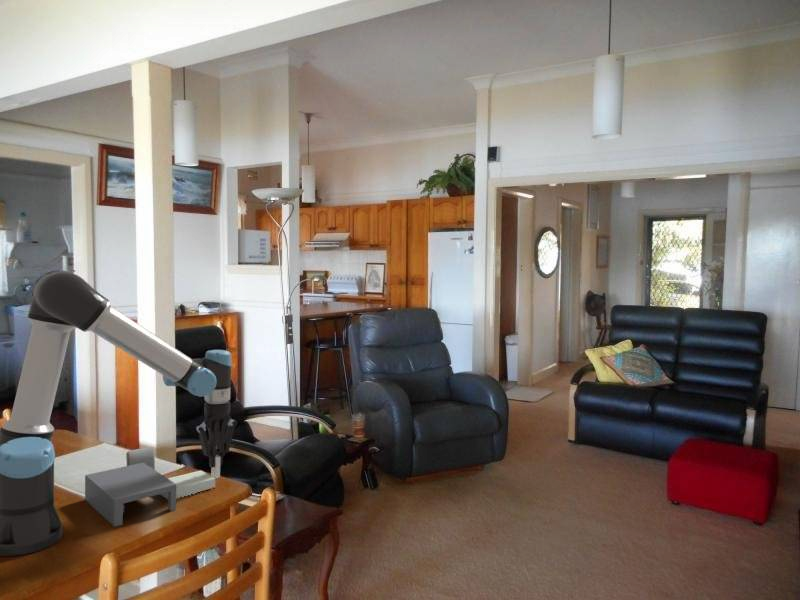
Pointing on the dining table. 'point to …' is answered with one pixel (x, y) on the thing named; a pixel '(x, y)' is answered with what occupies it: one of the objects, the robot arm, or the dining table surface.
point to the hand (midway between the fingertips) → (215, 476)
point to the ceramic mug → (141, 457)
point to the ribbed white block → (191, 483)
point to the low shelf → (125, 489)
